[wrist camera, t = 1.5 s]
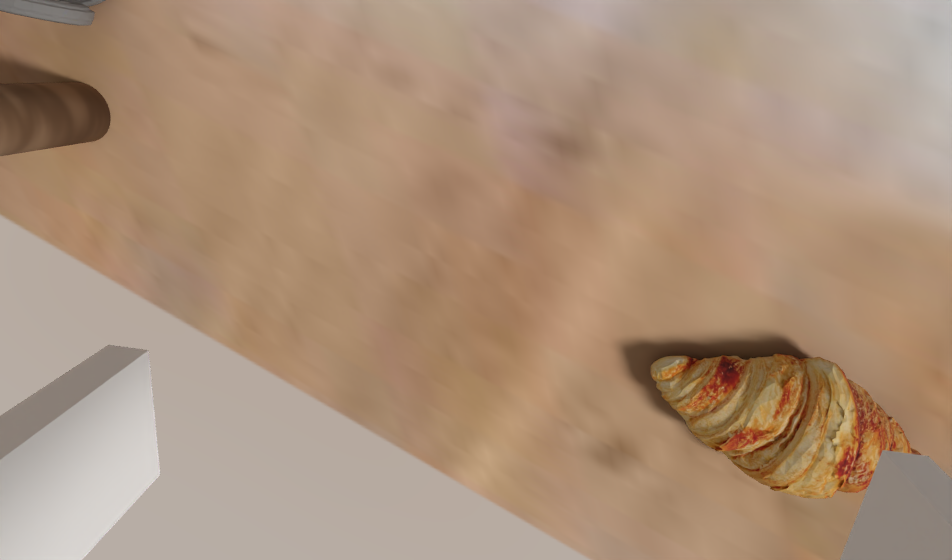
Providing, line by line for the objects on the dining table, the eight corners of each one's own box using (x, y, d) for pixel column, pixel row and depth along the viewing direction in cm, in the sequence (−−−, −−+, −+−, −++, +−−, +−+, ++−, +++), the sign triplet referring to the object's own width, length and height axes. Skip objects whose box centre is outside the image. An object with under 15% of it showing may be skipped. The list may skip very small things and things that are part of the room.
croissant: (624, 368, 49) (616, 456, 44) (686, 291, 42) (685, 385, 37) (868, 457, 50) (889, 555, 44) (972, 396, 42) (1012, 504, 37)
